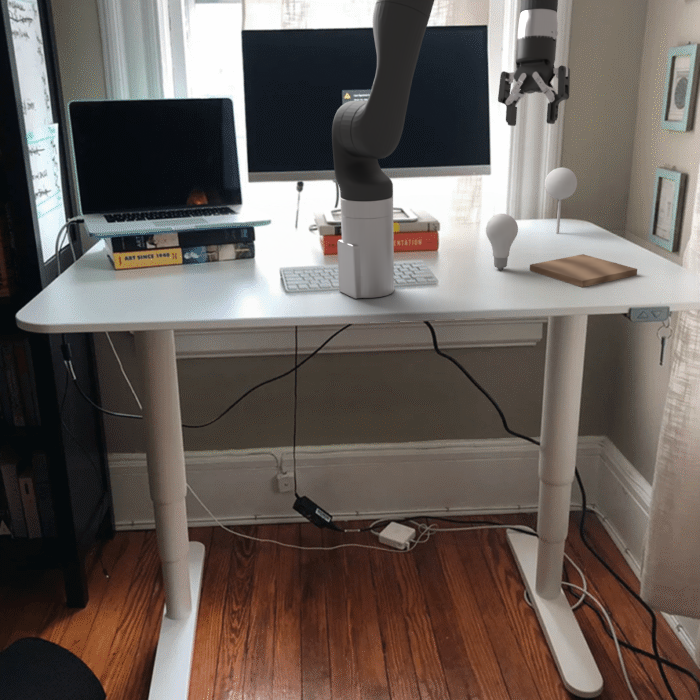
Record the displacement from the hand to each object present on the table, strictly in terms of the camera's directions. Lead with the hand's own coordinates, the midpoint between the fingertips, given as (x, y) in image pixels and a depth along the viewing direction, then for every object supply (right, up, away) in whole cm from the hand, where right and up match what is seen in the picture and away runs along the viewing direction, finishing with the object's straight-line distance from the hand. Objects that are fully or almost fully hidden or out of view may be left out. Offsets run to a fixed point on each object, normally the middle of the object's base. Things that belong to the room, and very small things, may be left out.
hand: (530, 124), depth 157 cm
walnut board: (+9, -30, -4) cm, 31 cm away
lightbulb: (-6, -29, 0) cm, 29 cm away
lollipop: (+13, -18, +28) cm, 35 cm away
